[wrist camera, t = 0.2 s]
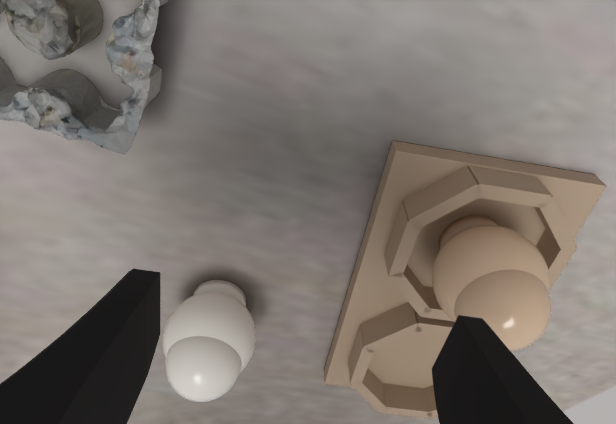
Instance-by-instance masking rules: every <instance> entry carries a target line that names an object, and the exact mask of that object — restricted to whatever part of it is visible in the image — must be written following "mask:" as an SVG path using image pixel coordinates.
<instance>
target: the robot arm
mask: <svg viewBox="0 0 616 424" xmlns="http://www.w3.org/2000/svg"><path fill="white" fill-rule="evenodd" d="M159 336H160V272H153V271H146V270H139V269H132V270H131V271H129V272H128V273H127V274H126V275H125V276H124V277H123V278H122V279H121V280H120V281H119V282H118V283H117V284H116V285H115V286H114V287H113V288H112V289H111V290H110V291H109V292H108V293H107V294H106V295H105V296H104V297H103V298H102V299H101V300H100V301H99V302H98V303H97V304H95V305H94V306H93V307H92V308H91V309H90V310H89V311H88V312H87V313H86V314H85V315H84V316H82V317H81V318H80V319H79V320H78V321H77V322H76V323H75V324H74V325H72V326H71V327H70V328H69V329H68V330H67V331H66V332H65V333H63V334H62V335H61V336H60V337H59V338H58V339H56V340H55V341H54V342H53V343H52V344H50V345H49V346H48V347H47V348H45V349H44V350H43V351H42V352H41V353H39V354H38V355H37V356H36V357H34V358H33V359H32V360H31V361H30V362H28V363H27V364H26V365H25V366H23V367H22V368H21V369H19V370H18V371H17V372H16V373H14V374H13V375H12V376H10V377H9V378H8V379H6V380H5V381H4V382H2V383H1V384H0V424H127V422H128V419H129V417H130V415H131V412H132V410H133V408H134V405H135V403H136V401H137V398H138V396H139V394H140V391H141V389H142V387H143V384H144V382H145V380H146V377H147V375H148V372H149V369H150V366H151V362H152V359H153V356H154V353H155V349H156V346H157V342H158V339H159ZM432 378H433V387H434V395H435V402H436V409H437V414H438V418H439V422H440V424H573V423H572V421H571V420H570V419H569V418H568V417H567V416H566V415H565V414H564V413H563V412H562V411H561V409H560V408H559V407H558V406H557V405H556V404H555V403H554V402H553V401H552V399H551V398H550V397H549V396H548V395H547V394H546V393H545V392H544V390H543V389H542V388H541V387H540V386H539V385H538V383H537V382H536V381H535V380H534V379H533V378H532V376H531V375H530V374H529V373H528V372H527V371H526V369H525V368H524V367H523V366H522V365H521V363H520V362H519V361H518V360H517V359H516V357H515V356H514V355H513V354H512V353H511V351H510V350H509V349H508V348H507V347H506V345H505V344H504V343H503V342H502V341H501V339H500V338H499V337H498V336H497V335H496V333H495V332H494V331H493V330H492V329H491V328H490V326H489V325H488V324H487V323H486V322H485V321H484V320H483V319H482V318H476V317H469V316H462V315H458V317H457V319H456V321H455V323H454V325H453V327H452V329H451V331H450V333H449V335H448V337H447V339H446V341H445V343H444V345H443V347H442V349H441V351H440V353H439V355H438V357H437V359H436V361H435V363H434V365H433V367H432Z"/></svg>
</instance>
